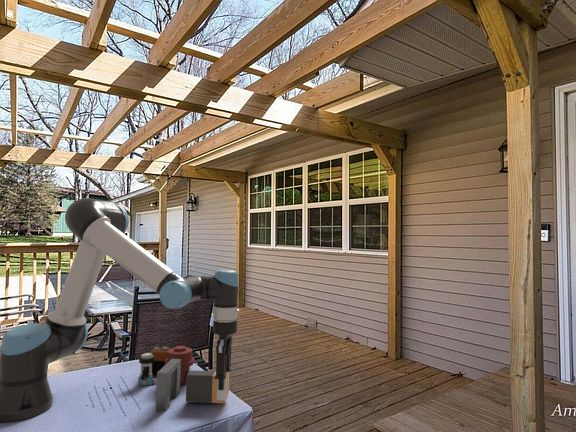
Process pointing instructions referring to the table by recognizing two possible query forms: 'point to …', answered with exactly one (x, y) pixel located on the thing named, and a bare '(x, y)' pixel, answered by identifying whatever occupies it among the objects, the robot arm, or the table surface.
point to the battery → (159, 359)
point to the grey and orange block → (203, 387)
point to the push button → (146, 369)
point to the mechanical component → (182, 360)
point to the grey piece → (167, 384)
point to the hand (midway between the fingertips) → (222, 396)
